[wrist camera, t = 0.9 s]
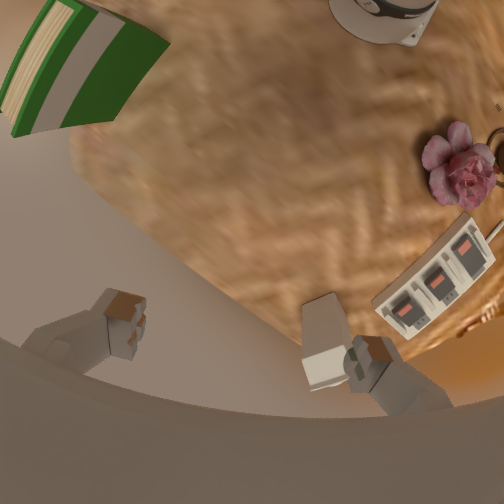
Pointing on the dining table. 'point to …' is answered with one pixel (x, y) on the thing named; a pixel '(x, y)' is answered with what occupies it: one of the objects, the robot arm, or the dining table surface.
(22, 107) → the hardback book
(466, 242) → the rocker near arm
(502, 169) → the place setting
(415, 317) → the rocker far end
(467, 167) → the flower
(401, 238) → the dining table surface
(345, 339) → the milk carton
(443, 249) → the power strip
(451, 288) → the rocker middle
